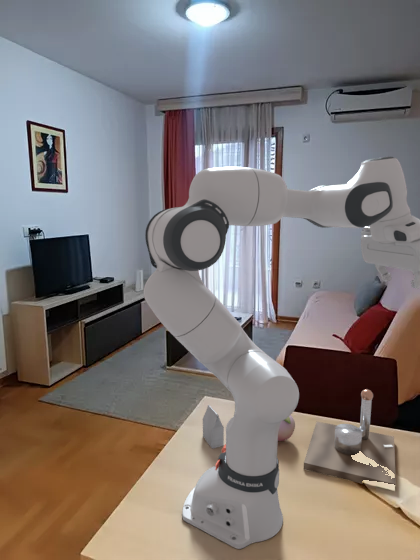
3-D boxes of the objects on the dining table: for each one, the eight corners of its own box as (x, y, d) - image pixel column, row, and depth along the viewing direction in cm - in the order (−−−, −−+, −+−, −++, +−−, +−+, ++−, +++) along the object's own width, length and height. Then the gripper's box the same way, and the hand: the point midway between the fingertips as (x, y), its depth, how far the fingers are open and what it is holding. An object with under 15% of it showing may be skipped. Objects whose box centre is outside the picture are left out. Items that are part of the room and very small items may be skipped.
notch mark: (384, 447, 113) (384, 446, 113) (383, 445, 114) (383, 444, 114) (393, 447, 113) (393, 446, 113) (391, 445, 114) (391, 444, 114)
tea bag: (212, 448, 117) (211, 416, 115) (202, 436, 123) (202, 405, 121) (223, 445, 118) (223, 413, 116) (214, 433, 124) (213, 403, 122)
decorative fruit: (301, 441, 120) (302, 409, 118) (283, 452, 115) (284, 419, 113) (275, 428, 127) (276, 398, 125) (258, 438, 121) (258, 407, 120)
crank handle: (351, 458, 108) (354, 407, 105) (329, 445, 114) (331, 397, 111) (378, 440, 116) (382, 392, 113) (356, 429, 121) (359, 384, 119)
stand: (303, 469, 107) (303, 462, 107) (316, 427, 127) (316, 421, 127) (395, 491, 99) (395, 484, 98) (393, 442, 119) (394, 436, 118)
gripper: (350, 230, 102) (361, 281, 105) (415, 235, 83) (426, 297, 86) (370, 222, 103) (380, 272, 107) (439, 225, 84) (448, 286, 88)
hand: (401, 283), depth 96 cm, fingers open, 8 cm apart
